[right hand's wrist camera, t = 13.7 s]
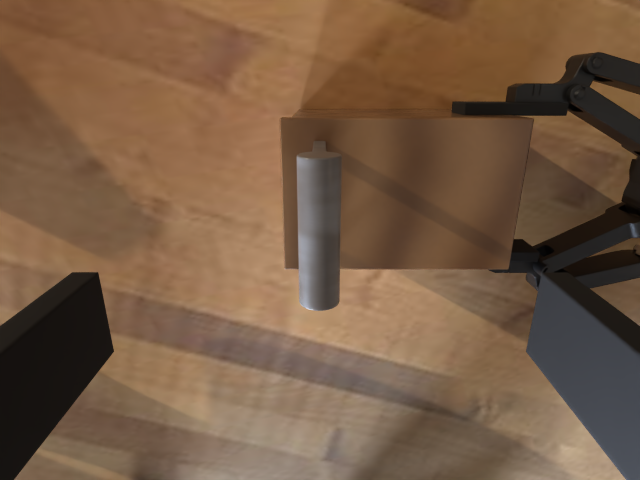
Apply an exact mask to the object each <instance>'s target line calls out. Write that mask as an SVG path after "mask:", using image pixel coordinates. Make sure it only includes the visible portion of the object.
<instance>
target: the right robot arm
mask: <svg viewBox="0 0 640 480" xmlns="http://www.w3.org/2000/svg"><path fill="white" fill-rule="evenodd" d="M113 352H114V349H113V344H112V339H111V334H110V329H109V324H108V319H107V314H106V309H105V304H104V299H103V294H102V289H101V284H100V279H99V274H98V272H72V273H71V274H70V275H68V276H67V277H65V278H64V279H63V280H61V281H60V282H59V283H57V284H56V285H55V286H53V287H52V288H51V289H49V290H48V291H47V292H45V293H44V294H43V295H41V296H40V297H39V298H37V299H36V300H35V301H33V302H32V303H31V304H29V305H28V306H27V307H25V308H24V309H23V310H21V311H20V312H19V313H17V314H16V315H15V316H13V317H12V318H11V319H9V320H8V321H7V322H5V323H4V324H2V325H1V326H0V480H14V479H15V477H16V476H17V475H18V474H19V472H20V471H21V470H22V469H23V467H24V466H25V465H26V463H27V462H28V461H29V460H30V458H31V457H32V456H33V454H34V453H35V452H36V451H37V449H38V448H39V447H40V445H41V444H42V443H43V442H44V440H45V439H46V438H47V437H48V435H49V434H50V433H51V431H52V430H53V429H54V428H55V426H56V425H57V424H58V422H59V421H60V420H61V419H62V417H63V416H64V415H65V413H66V412H67V411H68V410H69V408H70V407H71V406H72V405H73V403H74V402H75V401H76V399H77V398H78V397H79V396H80V394H81V393H82V392H83V390H84V389H85V388H86V387H87V385H88V384H89V383H90V381H91V380H92V379H93V378H94V376H95V375H96V374H97V372H98V371H99V370H100V369H101V367H102V366H103V365H104V364H105V362H106V361H107V360H108V358H109V357H110V356H111V355H112V353H113ZM526 352H527V353H528V355H529V356H530V357H531V358H532V360H533V361H534V362H535V364H536V365H537V366H538V367H539V369H540V370H541V371H542V372H543V374H544V375H545V376H546V378H547V379H548V380H549V381H550V383H551V384H552V385H553V387H554V388H555V389H556V390H557V392H558V393H559V394H560V396H561V397H562V398H563V399H564V401H565V402H566V403H567V405H568V406H569V407H570V408H571V410H572V411H573V412H574V413H575V415H576V416H577V417H578V419H579V420H580V421H581V422H582V424H583V425H584V426H585V428H586V429H587V430H588V431H589V433H590V434H591V435H592V437H593V438H594V439H595V440H596V442H597V443H598V444H599V445H600V447H601V448H602V449H603V451H604V452H605V453H606V454H607V456H608V457H609V458H610V460H611V461H612V462H613V463H614V465H615V466H616V467H617V469H618V470H619V471H620V472H621V474H622V475H623V476H624V477H625V479H626V480H640V326H639V325H638V324H636V323H635V322H633V321H632V320H631V319H629V318H628V317H627V316H625V315H624V314H623V313H621V312H620V311H619V310H617V309H616V308H615V307H613V306H612V305H611V304H609V303H608V302H607V301H605V300H604V299H603V298H601V297H600V296H599V295H597V294H596V293H595V292H593V291H592V290H591V289H589V288H588V287H587V286H585V285H584V284H583V283H581V282H580V281H579V280H577V279H576V278H575V277H573V276H572V275H570V274H569V273H568V272H542V274H541V279H540V284H539V289H538V294H537V299H536V304H535V309H534V314H533V319H532V324H531V329H530V334H529V339H528V344H527V349H526Z"/></svg>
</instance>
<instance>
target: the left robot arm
mask: <svg viewBox="0 0 640 480" xmlns="http://www.w3.org/2000/svg"><path fill="white" fill-rule="evenodd" d="M565 67H566V72H565V74H564V75H563V77H562V78H561V79H560V80H559V81H558V82H556V83H554V84H514V85H512V86H509V87H508V89H507V96H506V102H453V104H452V113H456V114H461V115H513V116H566V115H567V110H568V111H569V112H571V113H573V114H574V115H576V116H577V117H579V118H581V119H582V120H584V121H585V122H587V123H589V124H590V125H592V126H593V127H595V128H597V129H598V130H600V131H601V132H603V133H605V134H606V135H608V136H609V137H611V138H613V139H614V140H616V141H617V142H619V143H621V144H622V145H621V146H622V147H624V148H625V149H627V150H628V151H630V152H632V153H633V154H635V155H636V156H638V157H637V159H632V162H631V166H630V170H629V176H630V180H629V183H628V185H627V186H626V188H625V190H624V193H623V197H622V202H621V203H619V204H617V205H615V206H613V207H610V208H608V209H607V210H606V211H605V214H603V215H601V216H599V217H597V218H594V219H592V220H590V221H588V222H586V223H584V224H581V225H579V226H577V227H575V228H573V229H570V230H568V231H566V232H564V233H562V234H559V235H557V236H555V237H553V238H551V239H548V240H546V241H544V242H542V243H540V244H537V245H535V246H533V247H532V246H531V245H529V244H528V243H527V242H525V241H524V240H523V239H514V240H513V246H512V251H511V257H510V263H509V269H488V270H489V271H492V272H495V273H527V275H526V280H527V281H528V282H529V283H530V284H531V285H532V286H533V287H534V288H535V289H536V290H537V291H538V289H539V284H540V279H541V274H542V272H568V273H569V274H570V275H572V276H573V277H575V278H576V279H577V280H579V281H580V282H581V283H583V284H584V285H585V286H587V287H588V288H589V289H590V288H594V287H599V286H603V285H608V284H613V283H617V282H622V281H626V280H631V279H636V278H640V245H635V246H634V248H633V250H620V251H615V252H610V253H606V254H601V255H597V256H592V257H589V256H591V255H593V254H595V253H598V252H600V251H602V250H605V249H607V248H609V247H611V246H614V245H616V244H618V243H620V242H623V241H625V240H627V239H630V238H640V119H638V118H637V117H635V116H634V115H632V114H630V113H629V112H627V111H626V110H624V109H623V108H621V107H620V106H618V105H616V104H615V103H613V102H612V101H610V100H609V99H607V98H606V97H604V96H603V95H601V94H599V93H598V92H596V91H595V90H593V89H592V88H590V85H591V83H592V81H595V82H599V83H602V84H606V85H609V86H612V87H616V88H619V89H623V90H626V91H630V92H633V93H636V94H640V64H638V63H635V62H632V61H628V60H625V59H621V58H618V57H615V56H611V55H608V54H605V53H600V52H597V53H589V54H581V55H574V56H572V57H570V58H569V59H568V61H567V62H566V66H565ZM586 257H588V258H586Z"/></svg>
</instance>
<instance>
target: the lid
mask: <svg viewBox="0 0 640 480" xmlns="http://www.w3.org/2000/svg"><path fill="white" fill-rule="evenodd" d="M533 121H534V119H533V118H527V117H282V118H280V148H281V180H282V211H283V242H284V268H285V269H299V301H300V304H301V305H302V306H303V307H305V308H307V309H310V310H316V311H323V310H329V309H332V308H334V307H336V306H337V305H338V303H339V293H340V269H509V263H510V257H511V251H512V246H513V240H514V234H515V228H516V222H517V216H518V210H519V204H520V198H521V192H522V186H523V181H524V175H525V169H526V163H527V157H528V151H529V145H530V139H531V133H532V127H533Z"/></svg>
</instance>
